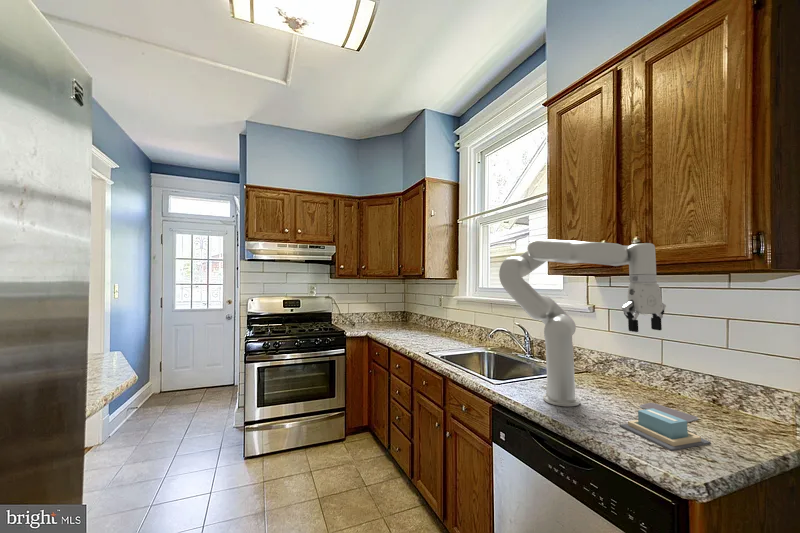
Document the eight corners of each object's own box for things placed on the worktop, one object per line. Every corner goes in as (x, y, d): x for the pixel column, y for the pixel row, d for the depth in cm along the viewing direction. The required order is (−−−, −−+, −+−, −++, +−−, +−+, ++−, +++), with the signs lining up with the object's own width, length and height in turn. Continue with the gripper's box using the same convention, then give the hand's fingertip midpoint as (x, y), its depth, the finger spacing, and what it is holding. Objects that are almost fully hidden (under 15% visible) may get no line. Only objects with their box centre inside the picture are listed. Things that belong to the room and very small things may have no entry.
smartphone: (685, 421, 110) (638, 405, 124) (685, 424, 110) (638, 408, 124) (700, 417, 112) (651, 402, 126) (700, 420, 112) (651, 404, 126)
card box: (687, 438, 98) (687, 420, 98) (671, 441, 97) (671, 423, 97) (653, 424, 108) (653, 407, 108) (638, 427, 106) (637, 410, 107)
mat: (620, 426, 108) (619, 420, 108) (655, 420, 112) (655, 415, 112) (671, 451, 93) (671, 444, 93) (710, 443, 96) (710, 437, 96)
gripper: (632, 280, 112) (634, 333, 111) (673, 279, 116) (676, 330, 115) (612, 280, 119) (614, 330, 118) (652, 279, 123) (654, 327, 123)
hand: (645, 330), depth 117 cm, fingers open, 9 cm apart
